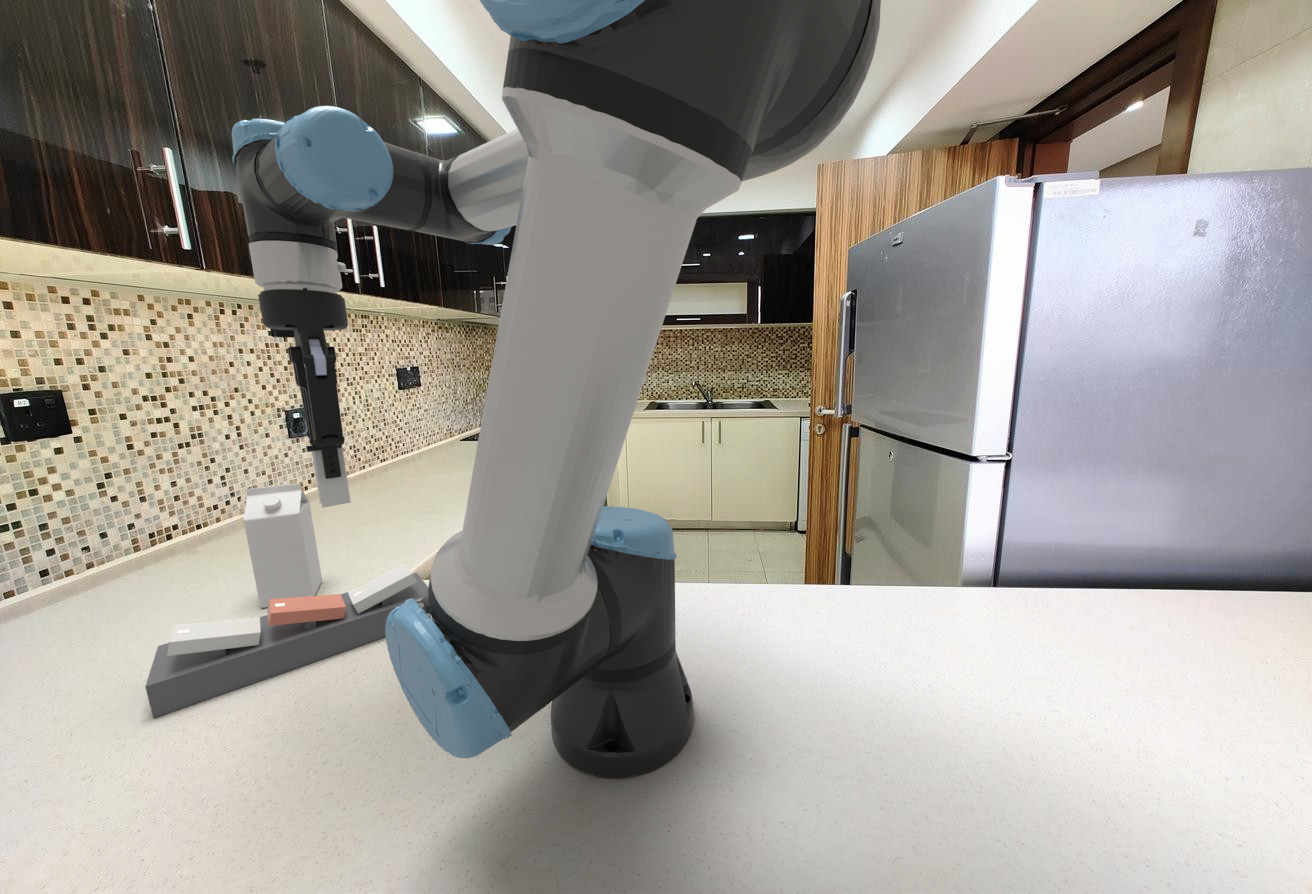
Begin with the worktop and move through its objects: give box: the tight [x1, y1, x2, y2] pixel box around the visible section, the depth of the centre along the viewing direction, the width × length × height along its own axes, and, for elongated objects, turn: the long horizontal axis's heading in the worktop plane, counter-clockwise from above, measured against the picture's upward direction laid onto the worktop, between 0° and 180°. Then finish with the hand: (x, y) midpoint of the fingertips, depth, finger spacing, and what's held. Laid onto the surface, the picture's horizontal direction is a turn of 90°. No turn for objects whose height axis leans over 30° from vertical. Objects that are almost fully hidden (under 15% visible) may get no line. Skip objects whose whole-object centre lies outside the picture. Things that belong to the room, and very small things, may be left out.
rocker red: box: [267, 593, 346, 626], centre depth 64 cm, size 5×8×2 cm, turn 130°
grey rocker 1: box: [167, 616, 261, 656], centre depth 58 cm, size 5×8×2 cm, turn 130°
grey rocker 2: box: [347, 562, 416, 614], centre depth 69 cm, size 5×8×2 cm, turn 130°
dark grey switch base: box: [144, 572, 429, 719], centre depth 67 cm, size 10×36×5 cm, turn 130°
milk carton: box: [242, 483, 323, 609], centre depth 79 cm, size 7×7×19 cm
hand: (335, 502), depth 55 cm, fingers closed
